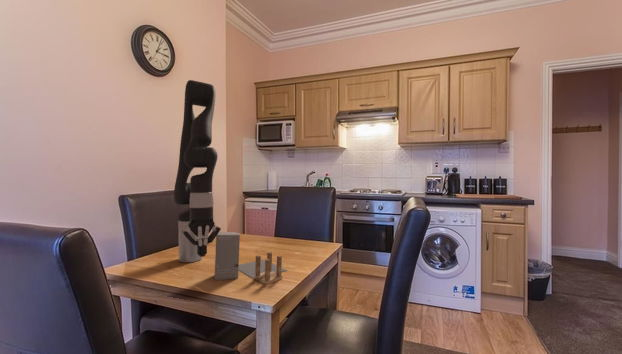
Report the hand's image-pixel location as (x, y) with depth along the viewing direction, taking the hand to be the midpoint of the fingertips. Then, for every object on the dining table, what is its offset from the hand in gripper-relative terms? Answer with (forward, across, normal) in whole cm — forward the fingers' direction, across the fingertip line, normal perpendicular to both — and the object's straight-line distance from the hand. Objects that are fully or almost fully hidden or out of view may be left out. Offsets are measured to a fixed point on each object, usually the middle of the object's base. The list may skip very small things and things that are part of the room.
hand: (202, 256), depth 101 cm
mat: (+9, -22, 0) cm, 24 cm away
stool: (+9, -19, +12) cm, 24 cm away
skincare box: (+9, -9, 0) cm, 13 cm away
